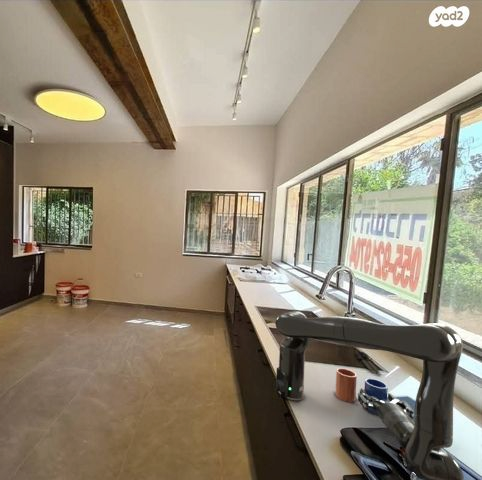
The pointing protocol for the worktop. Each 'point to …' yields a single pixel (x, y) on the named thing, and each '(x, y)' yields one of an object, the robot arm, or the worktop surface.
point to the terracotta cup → (346, 385)
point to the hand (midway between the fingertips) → (375, 393)
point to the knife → (359, 355)
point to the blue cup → (375, 391)
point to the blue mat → (409, 402)
